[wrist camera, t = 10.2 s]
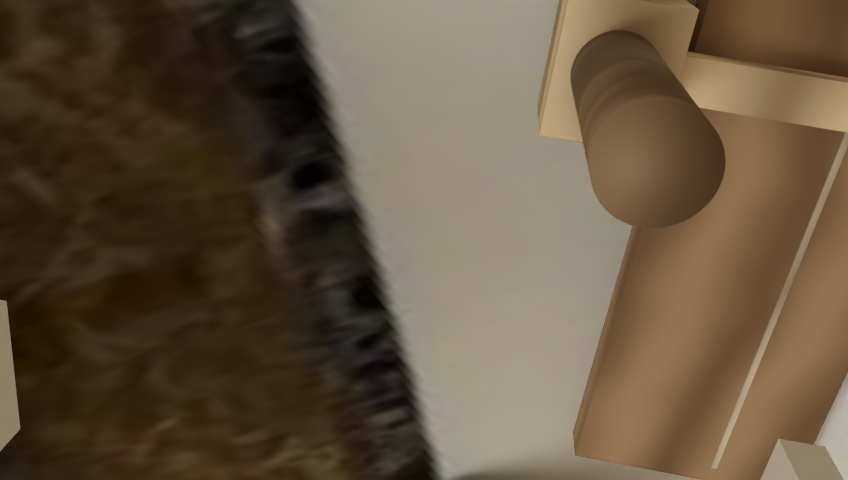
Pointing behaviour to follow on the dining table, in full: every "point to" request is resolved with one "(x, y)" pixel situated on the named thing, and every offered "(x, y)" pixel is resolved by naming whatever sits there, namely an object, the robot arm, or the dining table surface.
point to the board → (735, 280)
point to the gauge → (662, 104)
